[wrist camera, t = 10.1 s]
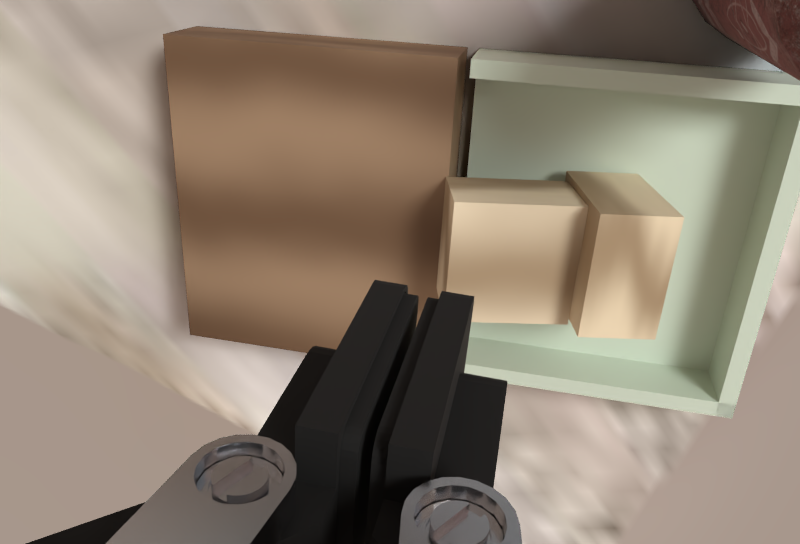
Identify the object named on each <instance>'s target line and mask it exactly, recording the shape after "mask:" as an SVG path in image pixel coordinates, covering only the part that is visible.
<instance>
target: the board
mask: <svg viewBox="0 0 800 544" xmlns="http://www.w3.org/2000/svg"><path fill="white" fill-rule="evenodd" d="M163 40H164V51H165V62H166V73H167V84H168V95H169V106H170V117H171V128H172V139H173V150H174V161H175V172H176V183H177V194H178V205H179V216H180V227H181V238H182V249H183V260H184V271H185V282H186V293H187V304H188V315H189V326H190V335H196V336H202V337H209V338H215V339H222V340H228V341H234V342H241V343H247V344H254V345H260V346H267V347H273V348H280V349H286V350H293V351H299V352H305V353H308V351H309V350H310V349H311V348H312V347H313V346H320V347H325V348H331V349H337V348H338V346H339V344H340V342H341V340H342V338H343V337H344V335H345V333H346V331H347V329H348V327H349V326H350V324H351V322H352V320H353V318H354V316H355V315H356V313H357V311H358V309H359V307H360V305H361V304H362V302H363V300H364V298H365V296H366V294H367V293H368V291H369V289H370V287H371V285H372V283H373V282H374V280H380V281H386V282H392V283H398V284H404V285H407V286H408V294H412V295H418V297H419V302H418V313H417V323H416V326H417V324H418V321H419V319H420V316H421V313H422V311H423V308H424V305H425V303H426V300H427V298H428V297H430V298H436V299H439V298H438V293H437V288H436V287H437V275H438V263H439V252H440V240H441V228H442V217H443V205H444V193H445V182H446V177H457V168H458V156H459V145H460V133H461V121H462V109H463V97H464V85H465V73H466V61H467V49H468V47H457V46H444V45H431V44H418V43H405V42H393V41H380V40H367V39H354V38H341V37H328V36H315V35H302V34H290V33H277V32H264V31H251V30H238V29H225V28H212V27H200V26H196V27H192V28H188V29H183V30H179V31H175V32H170V33H166V34H163Z"/></svg>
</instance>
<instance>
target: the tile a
mask: <svg viewBox="0 0 800 544" xmlns="http://www.w3.org/2000/svg"><path fill="white" fill-rule="evenodd" d="M587 213H588V206H587V204H586V203H585V202H584V201H583V199H582V198H581V197H580V196H579V194H578V193H577V192H576V191H575V190H574V188H573V187H572V186H571V185H570V183H569V182H568V181H547V180H521V179H495V178H470V177H446V182H445V193H444V205H443V217H442V228H441V240H440V252H439V263H438V275H437V287H436V288H437V293H438V298H439V297H440V294H441V292H442V291H446V292H452V293H458V294H464V295H470V296H474V306H473V313H472V320H471V322H482V323H521V324H560V325H568V320H569V315H570V309H571V303H572V298H573V292H574V286H575V281H576V275H577V270H578V264H579V258H580V253H581V247H582V241H583V236H584V230H585V224H586V219H587Z"/></svg>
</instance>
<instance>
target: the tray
mask: <svg viewBox="0 0 800 544" xmlns="http://www.w3.org/2000/svg"><path fill="white" fill-rule="evenodd" d="M470 78H475V79H476V82H475V93H474V104H473V115H472V126H471V138H470V149H469V160H468V171H467V177H470V178H495V179H521V180H547V181H565V178H566V172H567V171H585V172H608V173H631V174H639V175H640V176H641V177H642V178H643V179H644V180H645V181H646V182H647V183H648V184H649V185H650V186H652V187H653V188H654V189H655V190H656V191H657V192H658V193H659V194H660V195H661V196H662V197H663V198H664V199H665V200H666V201H668V202H669V203H670V204H671V205H672V206H673V207H674V208H675V209H676V210H677V211H678V212H679V213H680V214H681V215H682V216H684V221H683V226H682V230H681V234H680V238H679V242H678V246H677V251H676V255H675V259H674V263H673V267H672V272H671V276H670V280H669V284H668V288H667V293H666V297H665V301H664V305H663V309H662V313H661V318H660V322H659V326H658V330H657V334H656V339H655V340H652V339H621V338H590V337H578V336H577V334H576V332H575V330H574V328H573V326H572V324H571V322H570V320H568V325H560V324H521V323H482V322H471V327H470V334H469V342H468V349H467V356H466V363H465V370H464V373H467V374H473V375H478V376H484V377H489V378H495V379H500V380H505V381H507V384H512V385H519V386H525V387H531V388H538V389H544V390H551V391H557V392H564V393H570V394H577V395H583V396H590V397H596V398H603V399H609V400H615V401H622V402H628V403H635V404H641V405H648V406H654V407H661V408H667V409H674V410H680V411H686V412H693V413H699V414H706V415H712V416H719V417H725V418H732V417H733V413H734V410H735V407H736V403H737V400H738V397H739V393H740V390H741V387H742V383H743V380H744V377H745V373H746V370H747V367H748V363H749V360H750V357H751V353H752V350H753V347H754V343H755V340H756V337H757V333H758V330H759V327H760V323H761V320H762V317H763V313H764V310H765V307H766V303H767V300H768V297H769V293H770V290H771V287H772V283H773V280H774V277H775V273H776V270H777V267H778V263H779V260H780V257H781V253H782V250H783V247H784V243H785V240H786V237H787V233H788V230H789V227H790V223H791V220H792V217H793V213H794V210H795V206H796V203H797V200H798V196H799V193H800V81H799V80H798V79H796V78H794V77H793V76H791V75H789V74H788V73H786V72H779V71H766V70H753V69H740V68H727V67H714V66H702V65H689V64H676V63H663V62H650V61H637V60H624V59H611V58H599V57H586V56H573V55H560V54H547V53H534V52H521V51H508V50H496V49H483V48H480V49H479V50H478V51H477V52H476V54H475V55H474V56H473V57H472V59H471V66H470Z"/></svg>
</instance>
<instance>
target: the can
mask: <svg viewBox="0 0 800 544" xmlns="http://www.w3.org/2000/svg"><path fill="white" fill-rule="evenodd" d="M693 2H694V3H695V5H696V7H697V8H698V10H699V12H700V13H701V15H702V16H703V18H704V20H705V21H706V22H707V23H709V24H710V25H711V26H712V27H714V28H715V29H716V30H718V31H719V32H720V33H721V34H723V35H724V36H725V37H727V38H729V39H730V40H732V41H734V42H735V43H737V44H739V45H741V46H742V47H744V48H746V49H747V50H749V51H751V52H752V53H754V54H756V55H757V56H759V57H761V58H762V59H764V60H766V61H767V62H769V63H771V64H772V65H774V66H776V67H777V68H779V69H781V70H783V71H784V72H786V73H788V74H789V75H791V76H793V77H794V78H796V79H798V80H799V81H800V0H693Z"/></svg>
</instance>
